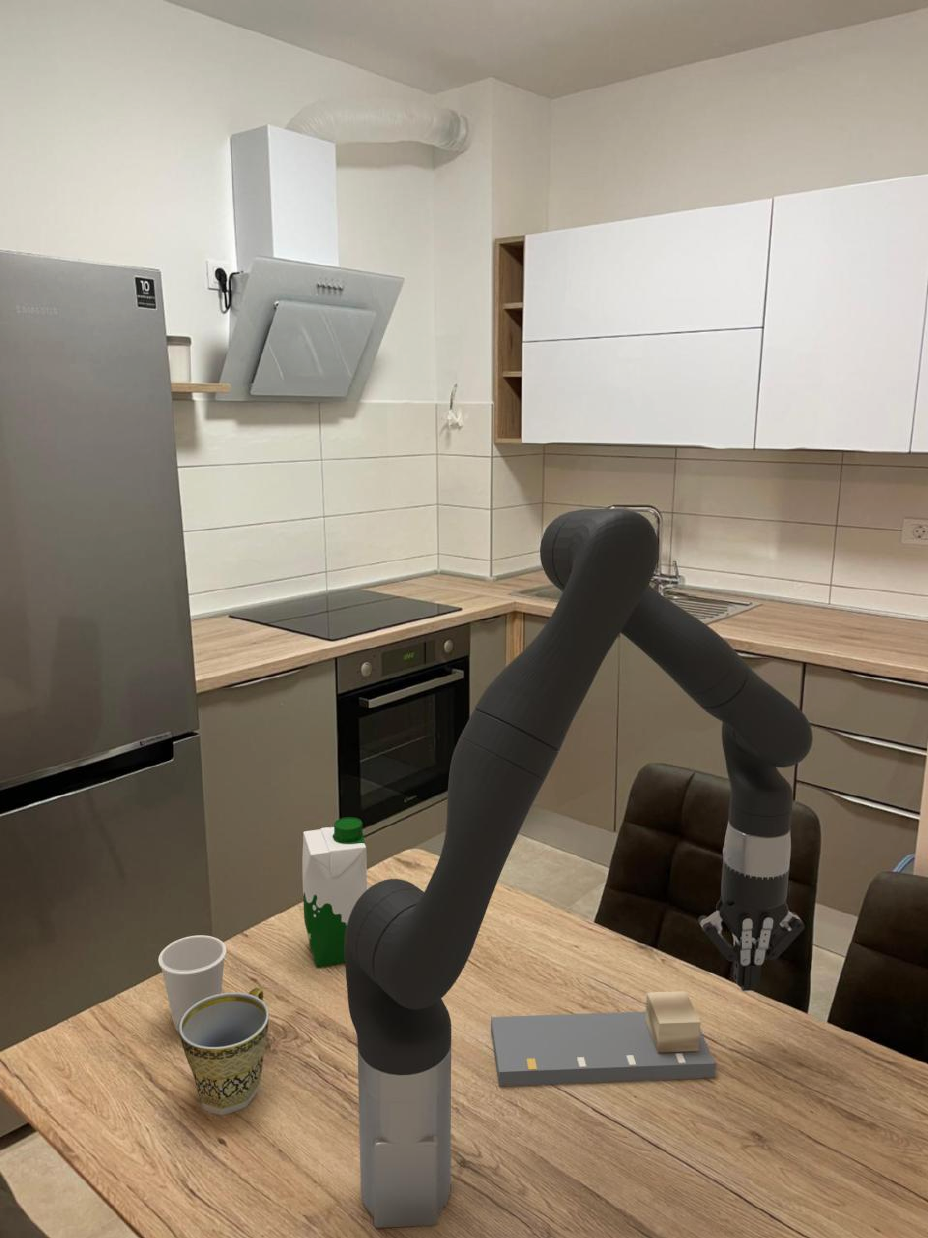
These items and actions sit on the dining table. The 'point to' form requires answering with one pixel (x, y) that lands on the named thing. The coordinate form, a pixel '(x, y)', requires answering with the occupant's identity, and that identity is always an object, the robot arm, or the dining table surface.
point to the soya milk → (332, 885)
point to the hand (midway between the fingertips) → (746, 986)
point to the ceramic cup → (226, 1048)
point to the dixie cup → (192, 972)
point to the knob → (672, 1021)
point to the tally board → (588, 1050)
